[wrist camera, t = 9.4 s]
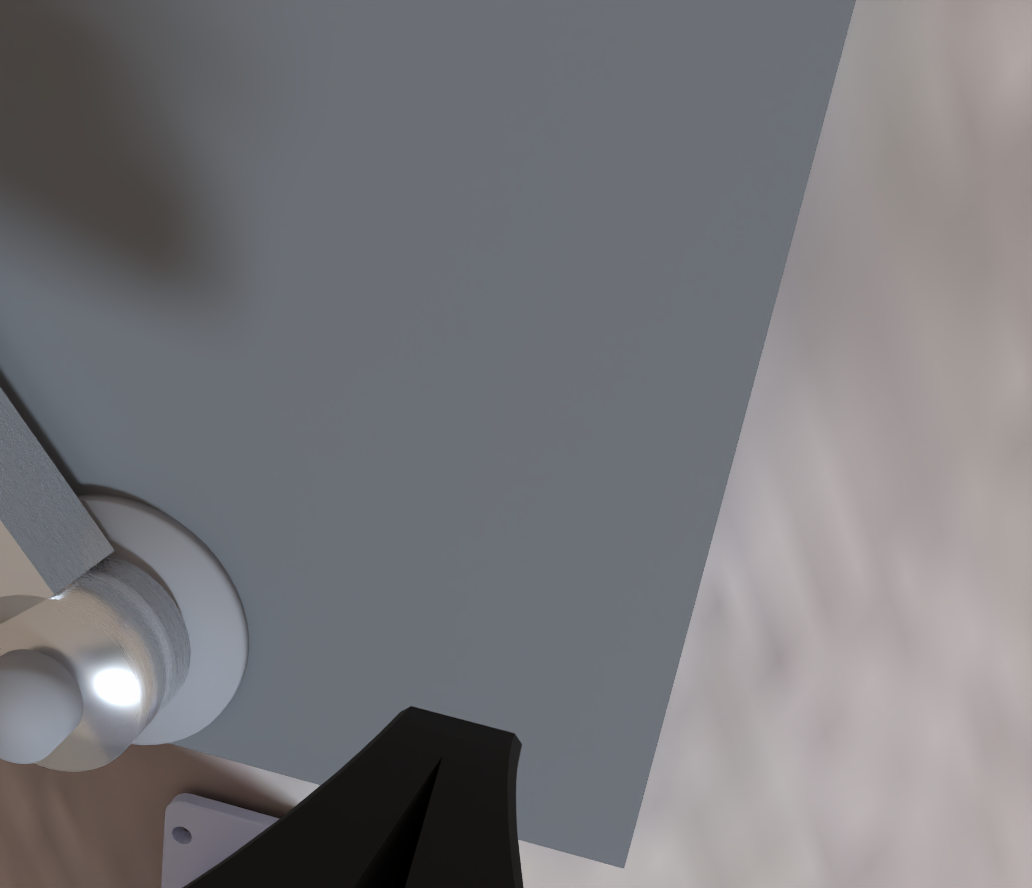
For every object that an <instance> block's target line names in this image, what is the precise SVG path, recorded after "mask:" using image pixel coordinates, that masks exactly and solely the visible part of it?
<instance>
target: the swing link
mask: <svg viewBox="0 0 1032 888" xmlns="http://www.w3.org/2000/svg"><path fill="white" fill-rule="evenodd" d="M113 551H115V550H114V549H113V548H112V546H111V545H110V543H109V542H108V540H107V539H106V538H105V536H104V535H103V533H102V532H101V530H100V529H99V528H98V526H97V525H96V523H95V522H94V520H93V519H92V518H91V516H90V515H89V513H88V512H87V510H86V509H85V508H84V506H83V505H82V503H81V502H80V500H79V499H78V498H77V496H76V495H75V493H74V492H73V490H72V489H71V487H70V486H69V485H68V483H67V482H66V480H65V479H64V477H63V476H62V475H61V473H60V472H59V470H58V469H57V467H56V466H55V465H54V463H53V462H52V460H51V459H50V457H49V456H48V455H47V453H46V452H45V450H44V449H43V447H42V446H41V445H40V443H39V442H38V440H37V439H36V437H35V436H34V434H33V433H32V432H31V430H30V429H29V427H28V426H27V424H26V423H25V422H24V420H23V419H22V417H21V416H20V414H19V413H18V412H17V410H16V409H15V407H14V406H13V404H12V403H11V402H10V400H9V399H8V397H7V396H6V394H5V393H4V392H3V390H2V389H1V387H0V656H2V655H3V654H5V653H7V652H9V651H12V650H17V649H28V650H34V651H38V652H41V653H43V654H46V655H48V656H50V657H51V658H53V659H55V660H56V661H58V662H59V663H60V664H61V665H62V666H64V667H65V668H66V669H67V670H68V671H69V673H70V674H71V675H72V676H73V678H74V679H75V681H76V683H77V684H78V686H79V689H80V691H81V694H82V698H83V707H84V708H83V715H82V719H81V721H80V723H79V725H78V726H77V727H76V729H75V730H74V731H73V732H72V733H71V734H70V735H69V736H67V737H66V738H65V739H64V740H63V741H62V742H61V743H60V744H59V745H58V746H57V747H56V748H55V749H54V750H53V751H52V752H51V753H50V754H49V755H48V756H47V757H45V758H44V759H42V760H40V761H38V762H35V763H34V764H36V765H39V766H42V767H45V768H49V769H53V770H58V771H67V772H80V771H88V770H93V769H97V768H100V767H102V766H105V765H107V764H109V763H110V762H112V761H114V760H115V759H116V758H118V757H119V756H120V755H121V754H122V753H123V752H124V751H125V750H126V749H127V748H128V747H129V746H130V745H131V743H132V742H133V741H134V740H135V739H136V738H137V737H138V736H139V735H140V734H141V732H142V731H143V730H144V729H145V728H146V727H147V726H148V725H149V724H150V723H151V722H152V720H153V719H154V718H155V717H156V716H157V715H158V714H159V713H160V712H161V711H162V709H163V708H164V707H165V706H166V705H167V704H168V703H169V702H170V701H171V700H172V698H173V697H174V696H175V695H176V694H177V693H178V692H179V690H180V689H181V687H182V686H183V684H184V682H185V680H186V677H187V675H188V671H189V667H190V659H191V647H190V640H189V635H188V631H187V628H186V625H185V622H184V620H183V617H182V615H181V613H180V611H179V609H178V608H177V606H176V604H175V603H174V601H173V600H172V598H171V597H170V596H169V595H168V593H167V592H166V591H165V590H164V589H163V588H162V586H161V585H160V584H159V583H158V582H157V581H156V580H154V579H153V578H152V577H151V576H150V575H148V574H147V573H146V572H144V571H143V570H142V569H140V568H139V567H137V566H135V565H134V564H132V563H130V562H128V561H126V560H124V559H121V558H119V557H116V556H114V555H110V554H111V553H112V552H113Z"/></svg>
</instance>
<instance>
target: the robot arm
mask: <svg viewBox="0 0 1032 888" xmlns="http://www.w3.org/2000/svg"><path fill="white" fill-rule="evenodd" d="M521 748H522V743H521V742H520V740H519V739H518V737H517V736H516V734H515V733H512V732H508V731H505V730H501V729H497V728H493V727H489V726H485V725H482V724H478V723H474V722H470V721H466V720H463V719H459V718H455V717H451V716H447V715H444V714H440V713H436V712H432V711H428V710H424V709H421V708H417V707H413V706H410V707H408V708H406V709H405V710H403V711H401V712H400V713H399V714H398V715H397V716H396V717H395V718H394V719H393V720H392V721H391V722H390V723H389V724H388V725H387V726H386V727H385V728H384V729H383V730H382V731H381V732H380V733H379V734H378V735H377V736H376V737H375V738H374V739H373V740H371V741H370V742H369V743H368V744H367V745H366V746H365V747H364V748H363V749H362V750H361V751H360V752H359V753H357V754H356V755H355V756H354V757H353V758H352V759H351V760H350V761H349V762H347V763H346V764H345V765H344V766H343V767H342V768H341V769H340V770H338V771H337V772H336V773H335V774H334V775H333V776H331V777H330V778H329V779H328V780H327V781H325V782H324V783H323V784H322V785H321V786H319V787H318V788H317V789H316V790H315V791H313V792H312V793H311V794H310V795H309V796H307V797H306V798H305V799H304V800H303V801H301V802H300V803H299V804H298V805H297V806H295V807H294V808H293V809H292V810H290V811H289V812H288V813H287V814H285V815H284V816H283V817H281V818H280V819H279V818H275V817H272V816H268V815H265V814H261V813H258V812H254V811H250V810H247V809H243V808H240V807H236V806H233V805H229V804H226V803H222V802H218V801H215V800H211V799H208V798H204V797H201V796H197V795H194V794H188V793H182V794H178V795H177V796H175V797H174V798H173V799H172V801H171V802H170V803H169V805H168V806H167V808H166V811H165V821H164V840H163V860H162V879H161V888H523V881H522V872H521V863H520V854H519V845H518V833H517V814H516V779H517V768H518V763H519V758H520V753H521ZM182 827H184V828H186V829H187V830H188V831H189V832H190V833H189V832H187V831H185V830H184V829H183V828H182Z"/></svg>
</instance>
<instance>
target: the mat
mask: <svg viewBox="0 0 1032 888" xmlns="http://www.w3.org/2000/svg"><path fill="white" fill-rule="evenodd" d="M855 1H856V0H0V387H1V389H2V390H3V392H4V393H5V394H6V396H7V397H8V399H9V400H10V402H11V403H12V404H13V406H14V407H15V409H16V410H17V412H18V413H19V414H20V416H21V417H22V419H23V420H24V422H25V423H26V424H27V426H28V427H29V429H30V430H31V432H32V433H33V434H34V436H35V437H36V439H37V440H38V442H39V443H40V445H41V446H42V447H43V449H44V450H45V452H46V453H47V455H48V456H49V457H50V459H51V460H52V462H53V463H54V465H55V466H56V467H57V469H58V470H59V472H60V473H61V475H62V476H63V477H64V479H65V480H66V482H67V483H68V485H69V486H70V487H71V489H72V490H73V492H74V493H75V495H76V496H77V498H78V499H79V500H80V502H81V503H82V505H83V506H84V508H85V509H86V510H87V512H88V513H89V515H90V516H91V518H92V519H93V520H94V522H95V523H96V525H97V526H98V528H99V529H100V530H101V532H102V533H103V535H104V536H105V538H106V539H107V540H108V542H109V543H110V545H111V546H112V548H113V549H114V550H115V551H113V552H112V553H111V554H110V555H114V556H116V557H119V558H121V559H124V560H126V561H128V562H130V563H132V564H134V565H135V566H137V567H139V568H140V569H142V570H143V571H144V572H146V573H147V574H148V575H150V576H151V577H152V578H153V579H154V580H156V581H157V582H158V583H159V584H160V585H161V586H162V588H163V589H164V590H165V591H166V592H167V593H168V595H169V596H170V597H171V598H172V600H173V601H174V603H175V604H176V606H177V608H178V609H179V611H180V613H181V615H182V617H183V620H184V622H185V625H186V628H187V631H188V635H189V640H190V647H191V659H190V667H189V671H188V675H187V677H186V680H185V682H184V684H183V686H182V687H181V689H180V690H179V692H178V693H177V694H176V695H175V696H174V697H173V698H172V700H171V701H170V702H169V703H168V704H167V705H166V706H165V707H164V708H163V709H162V711H161V712H160V713H159V714H158V715H157V716H156V717H155V718H154V719H153V720H152V722H151V723H150V724H149V725H148V726H147V727H146V728H145V729H144V730H143V731H142V732H141V734H140V735H139V736H138V737H137V738H136V739H135V740H134V741H133V742H132V743H131V744H135V745H158V744H164V743H170V744H173V745H177V746H180V747H184V748H188V749H191V750H195V751H199V752H202V753H206V754H210V755H213V756H217V757H220V758H224V759H228V760H231V761H235V762H239V763H242V764H246V765H249V766H253V767H257V768H260V769H264V770H268V771H271V772H275V773H279V774H282V775H286V776H289V777H293V778H297V779H300V780H304V781H308V782H311V783H315V784H319V785H322V784H323V783H324V782H325V781H327V780H328V779H329V778H330V777H331V776H333V775H334V774H335V773H336V772H337V771H338V770H340V769H341V768H342V767H343V766H344V765H345V764H346V763H347V762H349V761H350V760H351V759H352V758H353V757H354V756H355V755H356V754H357V753H359V752H360V751H361V750H362V749H363V748H364V747H365V746H366V745H367V744H368V743H369V742H370V741H371V740H373V739H374V738H375V737H376V736H377V735H378V734H379V733H380V732H381V731H382V730H383V729H384V728H385V727H386V726H387V725H388V724H389V723H390V722H391V721H392V720H393V719H394V718H395V717H396V716H397V715H398V714H399V713H400V712H401V711H403V710H405V709H406V708H408V707H410V706H413V707H417V708H421V709H424V710H428V711H432V712H436V713H440V714H444V715H447V716H451V717H455V718H459V719H463V720H466V721H470V722H474V723H478V724H482V725H485V726H489V727H493V728H497V729H501V730H505V731H508V732H512V733H515V734H516V736H517V737H518V739H519V740H520V742H521V743H522V748H521V753H520V758H519V763H518V768H517V779H516V814H517V833H518V840H522V841H526V842H529V843H533V844H537V845H540V846H544V847H548V848H551V849H555V850H558V851H562V852H566V853H569V854H573V855H577V856H580V857H584V858H588V859H591V860H595V861H598V862H602V863H606V864H609V865H613V866H617V867H620V868H624V866H625V863H626V859H627V855H628V852H629V848H630V844H631V840H632V837H633V833H634V829H635V825H636V822H637V818H638V814H639V810H640V807H641V803H642V799H643V795H644V792H645V788H646V784H647V780H648V777H649V773H650V769H651V765H652V762H653V758H654V754H655V750H656V747H657V743H658V739H659V735H660V732H661V728H662V724H663V720H664V717H665V713H666V709H667V705H668V702H669V698H670V694H671V690H672V687H673V683H674V679H675V675H676V672H677V668H678V664H679V660H680V657H681V653H682V649H683V646H684V642H685V638H686V634H687V631H688V627H689V623H690V619H691V616H692V612H693V608H694V604H695V601H696V597H697V593H698V589H699V586H700V582H701V578H702V574H703V571H704V567H705V563H706V559H707V556H708V552H709V548H710V544H711V541H712V537H713V533H714V529H715V526H716V522H717V518H718V514H719V511H720V507H721V503H722V499H723V496H724V492H725V488H726V484H727V481H728V477H729V473H730V469H731V466H732V462H733V458H734V454H735V451H736V447H737V443H738V440H739V436H740V432H741V428H742V425H743V421H744V417H745V413H746V410H747V406H748V402H749V398H750V395H751V391H752V387H753V383H754V380H755V376H756V372H757V368H758V365H759V361H760V357H761V353H762V350H763V346H764V342H765V338H766V335H767V331H768V327H769V323H770V320H771V316H772V312H773V308H774V305H775V301H776V297H777V293H778V290H779V286H780V282H781V278H782V275H783V271H784V267H785V263H786V260H787V256H788V252H789V248H790V245H791V241H792V237H793V233H794V230H795V226H796V222H797V219H798V215H799V211H800V207H801V204H802V200H803V196H804V192H805V189H806V185H807V181H808V177H809V174H810V170H811V166H812V162H813V159H814V155H815V151H816V147H817V144H818V140H819V136H820V132H821V129H822V125H823V121H824V117H825V114H826V110H827V106H828V102H829V99H830V95H831V91H832V87H833V84H834V80H835V76H836V72H837V69H838V65H839V61H840V57H841V54H842V50H843V46H844V42H845V39H846V35H847V31H848V27H849V24H850V20H851V16H852V13H853V9H854V5H855ZM83 708H84V707H83V698H82V694H81V691H80V689H79V686H78V684H77V683H76V681H75V679H74V678H73V676H72V675H71V674H70V673H69V671H68V670H67V669H66V668H65V667H64V666H62V665H61V664H60V663H59V662H58V661H56V660H55V659H53V658H51V657H50V656H48V655H46V654H43V653H41V652H38V651H34V650H28V649H17V650H12V651H9V652H7V653H5V654H3V655H2V656H0V759H3V760H5V761H8V762H12V763H18V764H30V763H35V762H38V761H40V760H42V759H44V758H45V757H47V756H48V755H49V754H50V753H51V752H52V751H53V750H54V749H55V748H56V747H57V746H58V745H59V744H60V743H61V742H62V741H63V740H64V739H65V738H66V737H67V736H69V735H70V734H71V733H72V732H73V731H74V730H75V729H76V727H77V726H78V725H79V723H80V721H81V719H82V715H83Z"/></svg>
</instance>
